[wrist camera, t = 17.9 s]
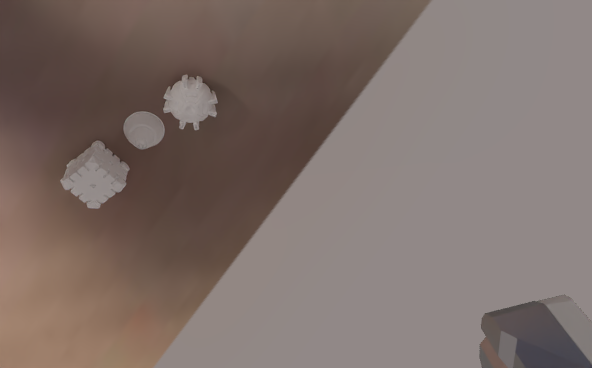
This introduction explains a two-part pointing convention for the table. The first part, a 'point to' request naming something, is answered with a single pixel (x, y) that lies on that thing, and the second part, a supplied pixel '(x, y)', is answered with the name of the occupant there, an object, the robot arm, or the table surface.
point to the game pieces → (136, 142)
